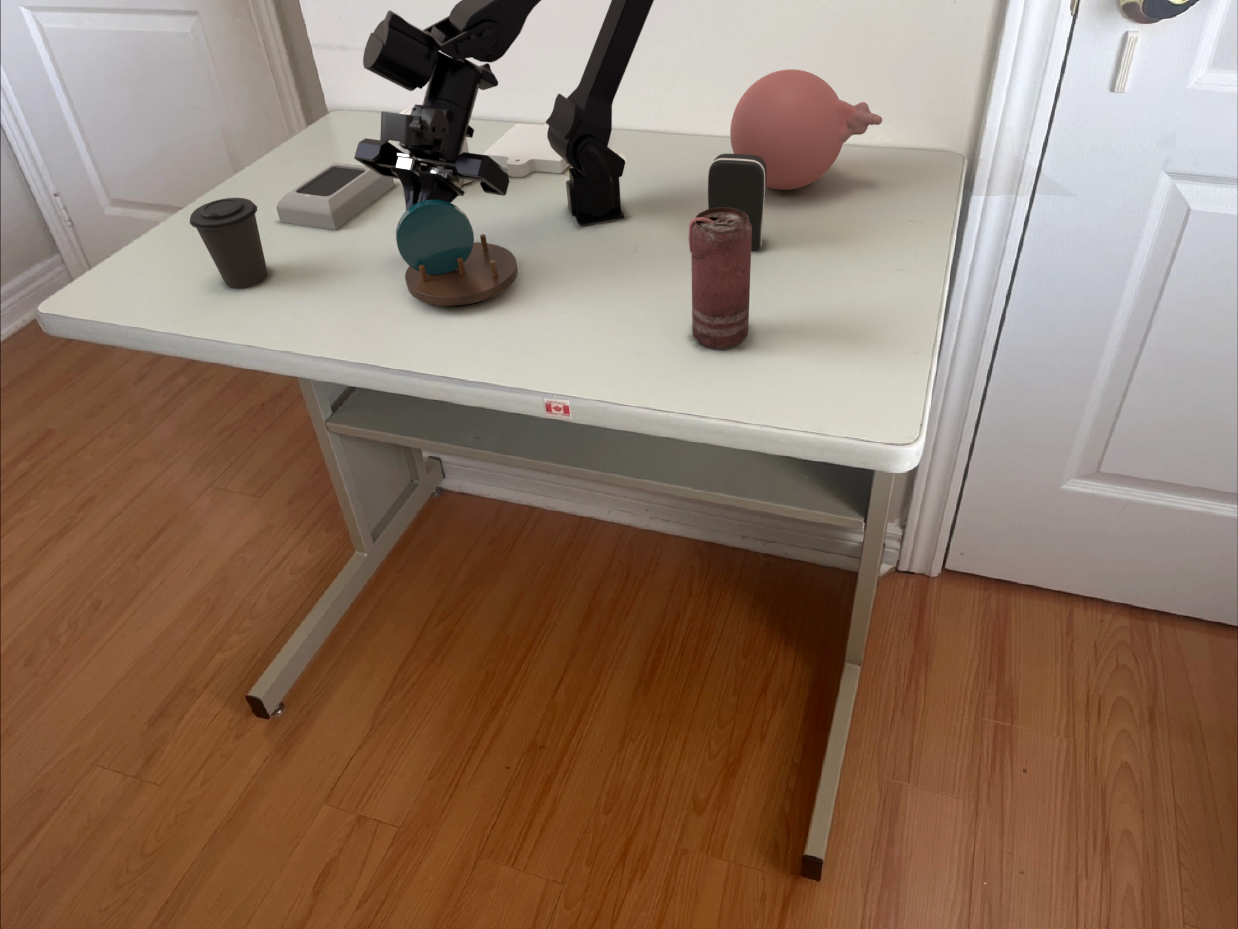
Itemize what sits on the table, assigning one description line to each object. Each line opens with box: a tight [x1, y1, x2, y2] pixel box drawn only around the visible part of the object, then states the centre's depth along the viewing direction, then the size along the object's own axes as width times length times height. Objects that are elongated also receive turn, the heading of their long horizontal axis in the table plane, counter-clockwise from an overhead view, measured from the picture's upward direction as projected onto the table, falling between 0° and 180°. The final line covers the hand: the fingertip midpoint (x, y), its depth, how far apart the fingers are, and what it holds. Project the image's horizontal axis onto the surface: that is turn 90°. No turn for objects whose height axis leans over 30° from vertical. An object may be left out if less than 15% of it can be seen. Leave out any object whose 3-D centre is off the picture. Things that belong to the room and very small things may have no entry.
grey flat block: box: [275, 162, 396, 231], centre depth 134 cm, size 10×4×15 cm
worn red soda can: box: [688, 207, 752, 351], centre depth 98 cm, size 6×6×14 cm
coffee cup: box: [189, 197, 269, 290], centre depth 116 cm, size 8×8×10 cm
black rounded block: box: [707, 153, 767, 250], centre depth 115 cm, size 7×4×11 cm, turn 74°
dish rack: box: [395, 200, 519, 307], centre depth 110 cm, size 14×14×10 cm
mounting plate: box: [481, 122, 570, 178], centre depth 144 cm, size 18×13×2 cm
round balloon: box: [729, 68, 883, 191], centre depth 125 cm, size 15×20×15 cm
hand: (412, 236), depth 110 cm, fingers closed
